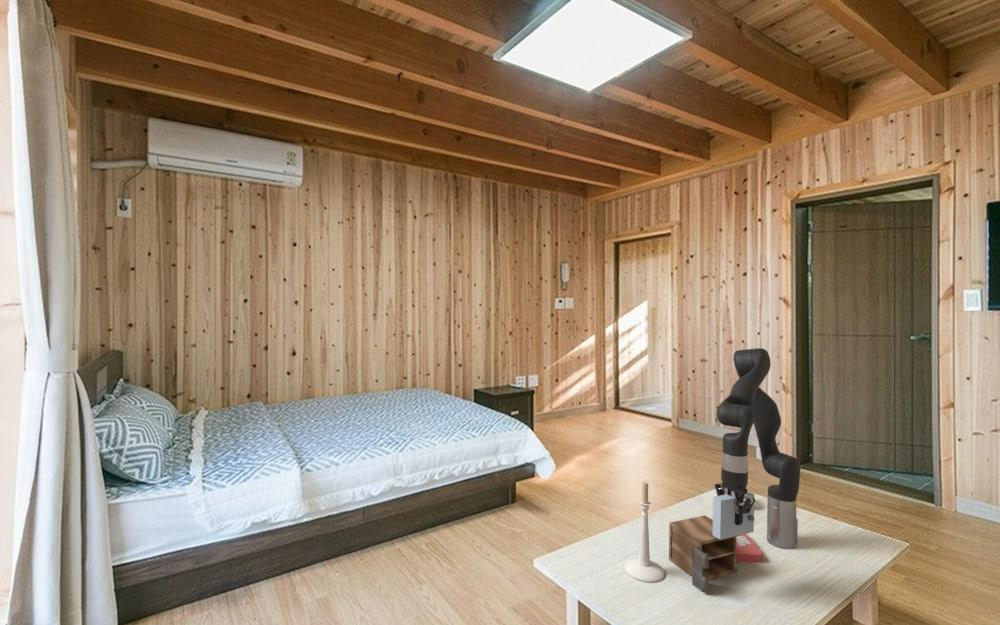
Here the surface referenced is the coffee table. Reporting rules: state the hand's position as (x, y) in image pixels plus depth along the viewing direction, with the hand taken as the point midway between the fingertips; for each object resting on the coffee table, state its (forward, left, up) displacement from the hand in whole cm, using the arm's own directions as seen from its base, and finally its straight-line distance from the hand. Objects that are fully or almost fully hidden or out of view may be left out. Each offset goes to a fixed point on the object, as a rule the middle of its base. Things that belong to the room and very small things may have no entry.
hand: (733, 521), depth 146 cm
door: (0, 0, -4) cm, 4 cm away
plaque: (-19, -17, -21) cm, 33 cm away
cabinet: (+2, -9, -20) cm, 22 cm away
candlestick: (+21, -16, -20) cm, 34 cm away
